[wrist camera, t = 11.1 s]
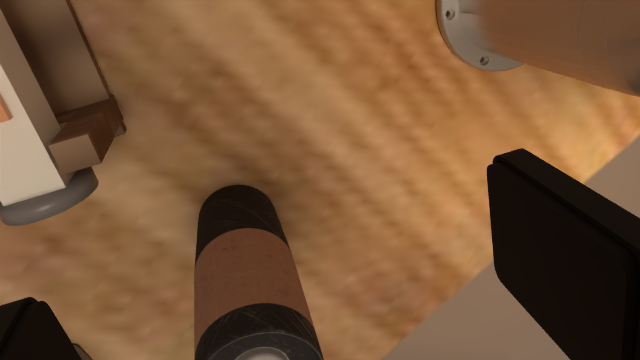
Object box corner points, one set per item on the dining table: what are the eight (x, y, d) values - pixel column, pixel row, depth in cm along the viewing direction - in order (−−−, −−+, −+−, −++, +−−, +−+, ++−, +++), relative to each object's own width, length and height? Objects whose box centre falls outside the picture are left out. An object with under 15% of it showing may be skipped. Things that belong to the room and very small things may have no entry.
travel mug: (216, 169, 43) (228, 314, 25) (292, 199, 46) (351, 348, 28) (181, 239, 45) (170, 420, 27) (256, 264, 48) (290, 442, 30)
